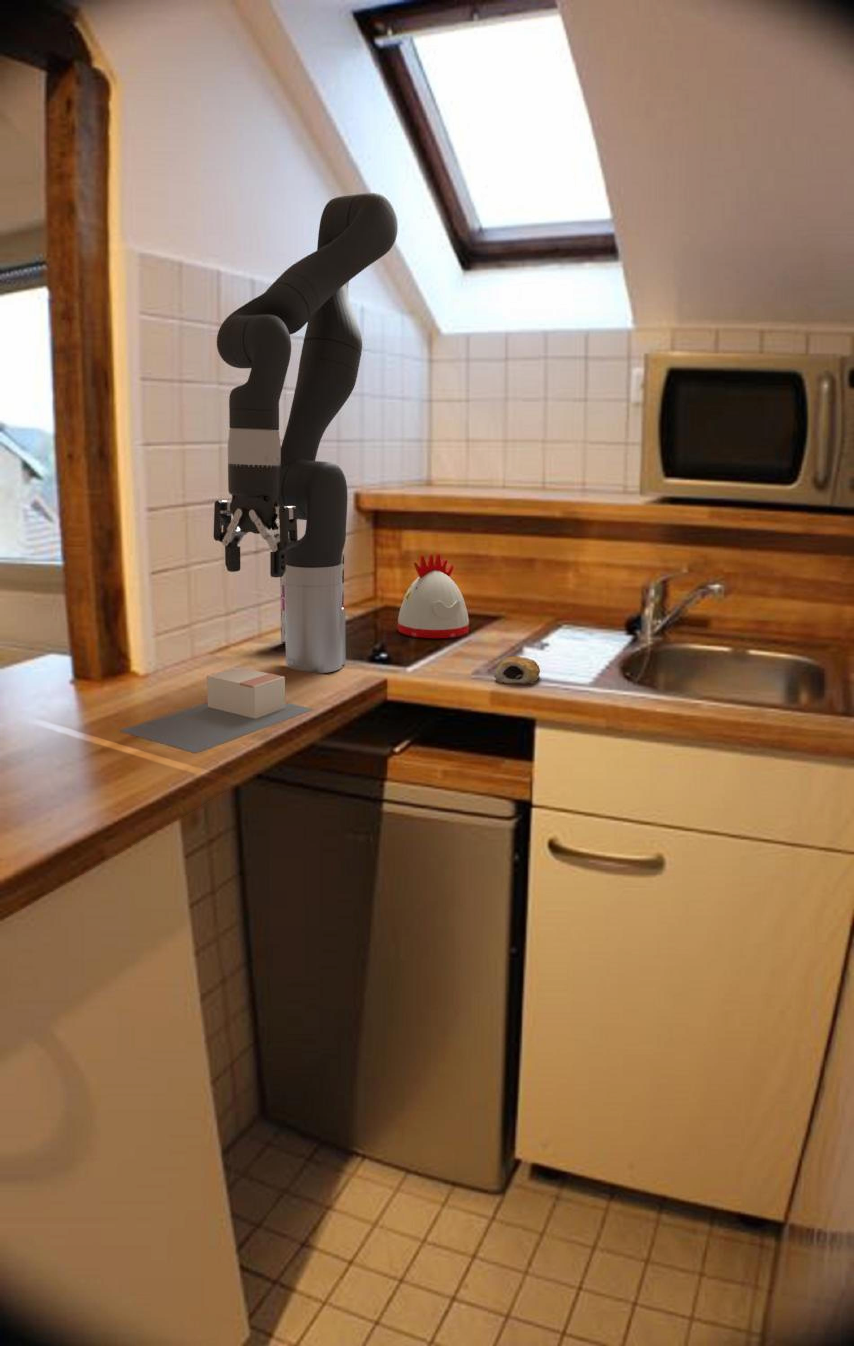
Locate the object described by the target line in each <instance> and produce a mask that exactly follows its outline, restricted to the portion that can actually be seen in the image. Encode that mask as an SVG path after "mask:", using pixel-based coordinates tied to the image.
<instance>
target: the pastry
mask: <svg viewBox="0 0 854 1346" xmlns="http://www.w3.org/2000/svg"><path fill="white" fill-rule="evenodd" d="M540 669H541V668H540V666H539V665H538V663H537V662H536V661H535V660H534V659H530V658H528V657H524V656H516V655H515V656H514V655H513V656H509V657H505V658H504V659H502V660H500V661H499V662H498V664H497V665H496V671H495V672H494V674H493V677H494V678H495V681H497V682H498V683H502V682H504V684H517V683H518V685H527V684H526V683H531V682H534V683H535V681H538V679H539V675H540V673H541V670H540ZM531 684H532V683H531Z"/></svg>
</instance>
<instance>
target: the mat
mask: <svg viewBox="0 0 854 1346" xmlns="http://www.w3.org/2000/svg"><path fill="white" fill-rule="evenodd" d="M285 706H286V708H284V709H281V710H279V711H276V712H273V713H270V714H267V715H265V716H262V717H259V718H256V719H255V718H251V717H247V716H243V715H239V714H235V713H231V712H227V711H223V710H219V709H215V708H211V707H208V702H205V703H201V704H199V705H195V706H193V707H189V708H186V709H183V710H180V711H176V712H173V713H170V714H168V715H164V716H161V717H158V718H154V719H152V720H149V721H146V722H141V723H139V724H135V725H133V726H129V727H126V728H123V729H120V730H118V732H120V733H124V734H127V735H130V736H134V737H137V738H141V739H145V740H148V741H150V742H155V743H158V744H161V745H166V746H169V747H173V748H175V749H178V750H182V751H186V752H190V753H193V754H198V753H201V752H203V751H206V750H209V749H212V748H213V747H217V746H219V745H222V744H225V743H227V742H230V741H233V740H235V739H238V738H241V737H244V736H247V735H250V734H252V733H255V732H257V731H260V730H262V729H265V728H268V727H270V726H273V725H276V724H280V723H281V722H284V721H286V720H287V721H288V720H289V719H292V718H295V717H297V716H300V715H303V714H305V713H308V712H311V711H313V710H315V709H314V708H312V707H306V706H303V705H299V704H294V703H290V702H286V701H285Z"/></svg>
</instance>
